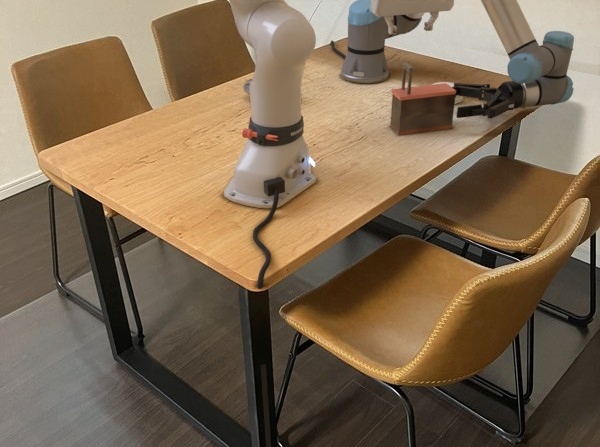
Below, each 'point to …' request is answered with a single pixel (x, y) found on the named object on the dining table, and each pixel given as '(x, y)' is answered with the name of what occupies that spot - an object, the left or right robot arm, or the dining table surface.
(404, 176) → the dining table surface
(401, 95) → the lid
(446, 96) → the chest
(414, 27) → the right robot arm
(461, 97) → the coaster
